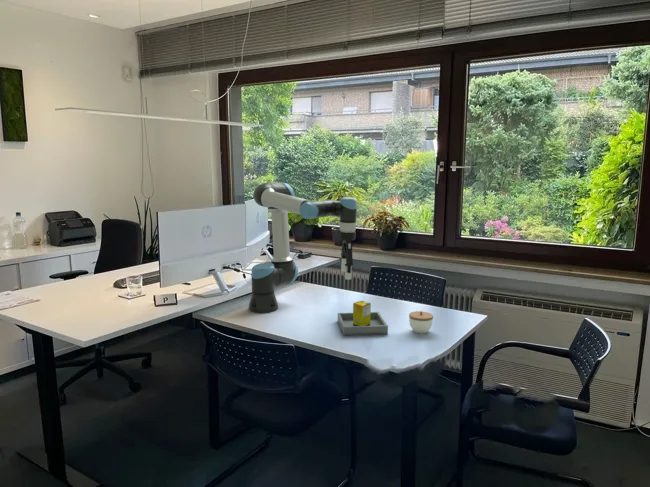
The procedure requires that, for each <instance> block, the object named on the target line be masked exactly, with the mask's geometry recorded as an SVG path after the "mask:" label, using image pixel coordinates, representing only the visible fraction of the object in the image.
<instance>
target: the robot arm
mask: <svg viewBox="0 0 650 487" xmlns="http://www.w3.org/2000/svg"><path fill="white" fill-rule="evenodd" d="M252 194H253V199H254V202H255V203H256V204H257V205H258V206H261V207H263V208H267V210H268V211H270V214H271V228H272V232H271V233H272V244H273V246H272V247H273V257H272V259H271V262H260V263H257V264H254V265H253V267H251V275H250V276H251V297H250V300H249V303H248V310H249V311H250V312H253V313H257V314H259V313H260V314H261V313H262V314H266V313H273V312H275V311H277V310H278V309H279V303H278V300H277V297H276V295H275V294H276V293H275V287H279V286H282V285H288V284H291V283H294V282H295V281H296V280H297V278H298V276H299V267H298V265H297V262H295V261H294V258H292V257H291V249H290V231H289V214H288V212H289V213H293V214H296V215H300V216H301V217H302V218H303V219H305V220H312V219H320V218H327V217H336V218H339V230H340V231H339V236H338V238H339V240H341V241H342V243H341V252H340V257H341V264H340V265H341V267H340V272H341V273H345V274H344V275H345V277H344V278H345V279H344V280H352V275H353V274H352V270H353V269H352V268H353V266H354V261H353V244H352V241H355V240H356V235H357V233H356V229H357V226H358V224H357V214H358V213H357V209H358V204H357V202H358V201H357V200H358V199H357V198H355V197H353V196H352V197H350V196H347V197H346V196H345V197H341V198H340V200H335V199H329V198H328V199H326V198H324V199H322V200H320V201H319V200H318V201H314V200H309V199H305V198H302V197H298V196H295V193H294V189H293V187H292V186H291V185H290V184H289V183H287V182H271V183H270V182H269V183H268V182H267V183H261V184H259V185H258V186H256V188H255V189H254V190H253V193H252Z"/></svg>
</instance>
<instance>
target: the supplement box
mask: <svg viewBox="0 0 650 487" xmlns="http://www.w3.org/2000/svg"><path fill="white" fill-rule="evenodd" d="M371 305H372V304H371V302H368V301H364V300H358V301H355V302H353V303H352V307H353V308H352V313H353V325H354V326H369V325H370V313H371V312H372V311H371V308H372V307H371Z"/></svg>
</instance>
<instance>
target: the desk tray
mask: <svg viewBox="0 0 650 487" xmlns="http://www.w3.org/2000/svg"><path fill="white" fill-rule="evenodd" d="M337 323H338V326H339V328H340V331H341V334H342V336H343V337H352V336H353V337H354V336H383V335H386V336H387V335H388V334H389V333H388V331H389V325H388V323H387V322H386V321H385V319H384V318H383V316H382V315H381V314H380V312H379V311H373V312H372V311H371V313H370V325H369V326H354V325H353V312H338V313H337Z"/></svg>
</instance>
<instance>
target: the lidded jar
mask: <svg viewBox="0 0 650 487" xmlns="http://www.w3.org/2000/svg"><path fill="white" fill-rule="evenodd" d="M408 314H409V315H408V317H409V320H408V321H409V326H410V328H411V329H412V331H413V332H414V333H416V334H426V333H428V331H430V330H431V328H432V325H433V322H434V321H433V319H434V315H433V314H432V313H431V312H427V311H423V310H420V311H417V310H416V311H412V312H410V313H408Z"/></svg>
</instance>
